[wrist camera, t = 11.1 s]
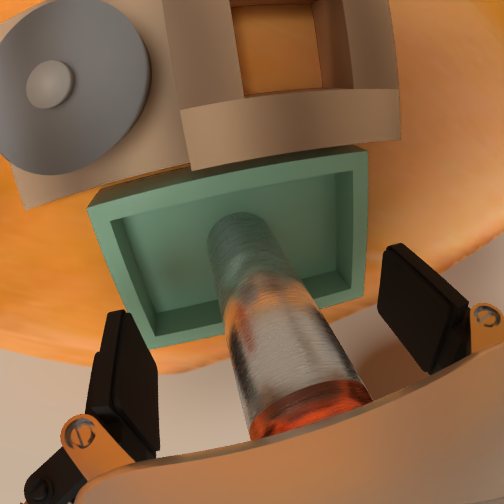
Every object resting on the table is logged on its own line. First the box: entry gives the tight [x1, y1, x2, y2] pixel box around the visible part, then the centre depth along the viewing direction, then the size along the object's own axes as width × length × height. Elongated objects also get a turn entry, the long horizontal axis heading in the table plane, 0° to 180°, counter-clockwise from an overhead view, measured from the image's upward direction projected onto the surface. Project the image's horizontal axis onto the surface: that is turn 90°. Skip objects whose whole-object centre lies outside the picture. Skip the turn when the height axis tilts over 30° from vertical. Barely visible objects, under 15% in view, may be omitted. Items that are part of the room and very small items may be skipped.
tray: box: [87, 145, 368, 350], centre depth 15 cm, size 12×8×2 cm, turn 98°
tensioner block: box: [0, 0, 401, 211], centre depth 10 cm, size 17×9×4 cm, turn 98°
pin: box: [207, 212, 373, 441], centre depth 11 cm, size 3×3×12 cm
